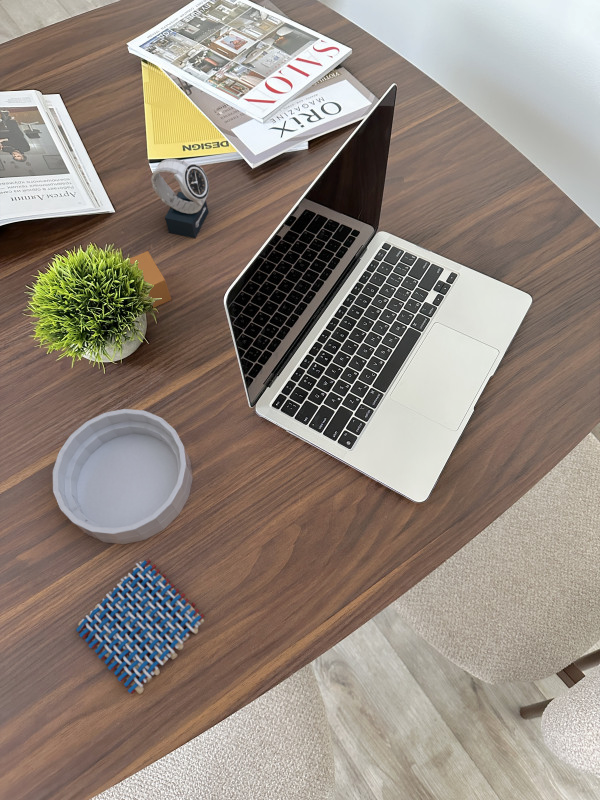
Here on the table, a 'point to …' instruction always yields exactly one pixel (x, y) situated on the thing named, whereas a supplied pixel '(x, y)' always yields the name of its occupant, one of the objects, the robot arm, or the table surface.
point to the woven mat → (140, 625)
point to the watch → (183, 196)
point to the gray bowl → (122, 476)
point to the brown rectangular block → (153, 278)
